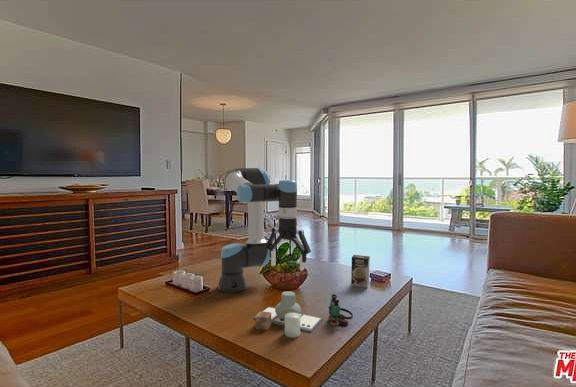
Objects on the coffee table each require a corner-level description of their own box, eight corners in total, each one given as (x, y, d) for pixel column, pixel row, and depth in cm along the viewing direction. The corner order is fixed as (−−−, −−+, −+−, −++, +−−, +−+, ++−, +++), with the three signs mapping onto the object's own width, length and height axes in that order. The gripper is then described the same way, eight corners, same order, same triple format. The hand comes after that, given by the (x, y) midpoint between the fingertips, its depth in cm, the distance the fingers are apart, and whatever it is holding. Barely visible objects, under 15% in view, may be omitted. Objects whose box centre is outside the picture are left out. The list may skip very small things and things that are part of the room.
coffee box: (350, 286, 176) (351, 257, 175) (353, 282, 182) (353, 254, 181) (367, 288, 173) (368, 258, 172) (369, 284, 179) (369, 255, 178)
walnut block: (255, 328, 127) (255, 316, 127) (259, 323, 132) (259, 311, 132) (267, 330, 126) (267, 317, 126) (271, 324, 131) (271, 312, 131)
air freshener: (300, 312, 139) (300, 290, 139) (301, 321, 131) (302, 296, 131) (275, 312, 139) (275, 290, 139) (275, 321, 131) (275, 296, 130)
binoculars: (356, 302, 128) (332, 300, 128) (353, 328, 129) (329, 326, 128) (350, 294, 137) (327, 292, 137) (347, 318, 138) (324, 316, 137)
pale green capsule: (281, 335, 122) (281, 317, 121) (289, 328, 127) (289, 311, 127) (296, 339, 119) (296, 320, 119) (302, 332, 124) (303, 314, 124)
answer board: (254, 318, 136) (254, 316, 136) (268, 308, 146) (268, 305, 146) (311, 332, 124) (311, 329, 124) (322, 320, 134) (322, 317, 134)
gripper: (257, 216, 136) (257, 265, 137) (311, 220, 124) (311, 274, 126) (266, 214, 143) (266, 261, 144) (319, 218, 131) (318, 269, 132)
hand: (287, 267), depth 135 cm, fingers open, 13 cm apart
